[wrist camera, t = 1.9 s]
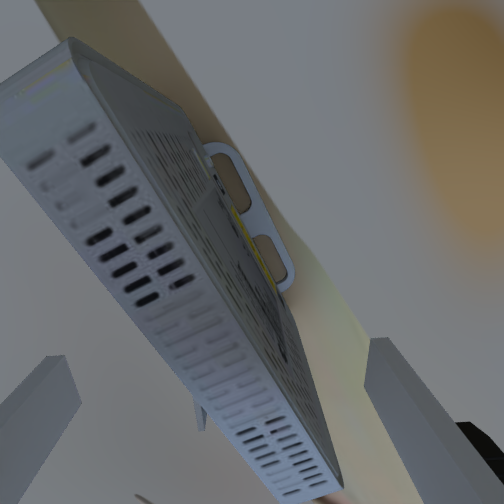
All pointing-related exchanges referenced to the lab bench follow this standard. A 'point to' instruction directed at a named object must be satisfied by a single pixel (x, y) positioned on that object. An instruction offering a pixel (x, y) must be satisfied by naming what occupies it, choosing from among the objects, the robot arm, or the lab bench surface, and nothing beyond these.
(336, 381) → the lab bench surface
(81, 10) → the lab bench surface
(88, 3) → the lab bench surface
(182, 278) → the network device
